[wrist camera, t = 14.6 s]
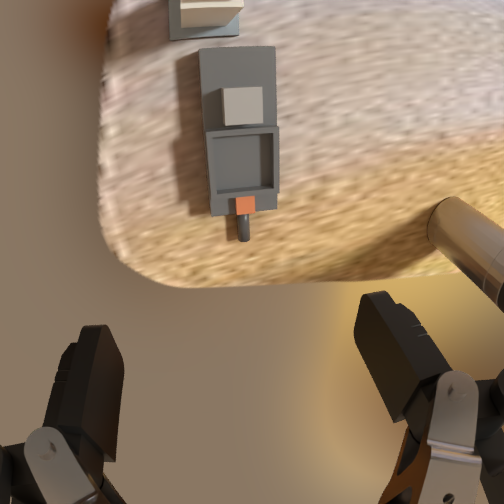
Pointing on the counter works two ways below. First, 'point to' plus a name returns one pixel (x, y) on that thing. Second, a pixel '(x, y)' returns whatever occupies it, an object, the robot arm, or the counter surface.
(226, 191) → the power strip
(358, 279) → the counter surface
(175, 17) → the pad
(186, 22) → the block
